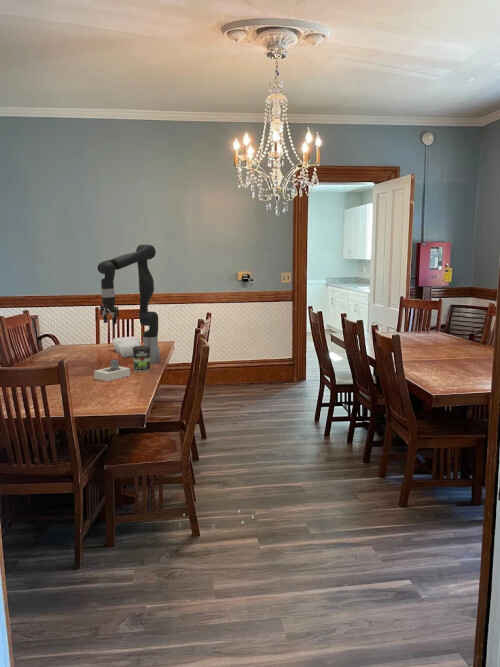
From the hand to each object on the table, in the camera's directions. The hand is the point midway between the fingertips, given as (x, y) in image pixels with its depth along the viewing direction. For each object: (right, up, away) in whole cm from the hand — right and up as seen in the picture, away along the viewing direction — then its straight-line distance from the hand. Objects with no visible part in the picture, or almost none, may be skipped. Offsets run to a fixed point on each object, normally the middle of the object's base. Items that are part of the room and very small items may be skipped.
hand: (110, 323), depth 304 cm
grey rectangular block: (+4, -31, -9) cm, 32 cm away
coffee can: (+17, -28, +8) cm, 34 cm away
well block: (+4, -31, -9) cm, 33 cm away
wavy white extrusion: (-4, -21, +58) cm, 62 cm away
